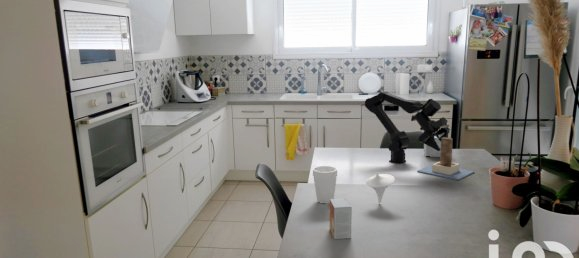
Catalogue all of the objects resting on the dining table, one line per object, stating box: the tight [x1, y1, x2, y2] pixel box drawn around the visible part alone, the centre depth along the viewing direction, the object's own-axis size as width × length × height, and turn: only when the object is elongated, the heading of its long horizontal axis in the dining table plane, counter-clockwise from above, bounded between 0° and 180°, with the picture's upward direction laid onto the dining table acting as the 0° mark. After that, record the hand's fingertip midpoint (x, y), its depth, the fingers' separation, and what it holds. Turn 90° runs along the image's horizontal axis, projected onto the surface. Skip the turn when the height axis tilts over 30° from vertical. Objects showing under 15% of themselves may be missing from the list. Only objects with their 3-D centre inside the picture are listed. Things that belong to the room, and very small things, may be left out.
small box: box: [329, 197, 353, 240], centre depth 135 cm, size 8×6×10 cm
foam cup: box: [312, 165, 338, 203], centre depth 164 cm, size 10×9×13 cm
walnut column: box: [439, 137, 454, 167], centre depth 198 cm, size 5×5×13 cm
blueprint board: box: [417, 161, 475, 181], centre depth 199 cm, size 20×16×4 cm
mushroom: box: [365, 173, 396, 204], centre depth 160 cm, size 10×11×12 cm
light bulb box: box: [423, 136, 441, 158], centre depth 229 cm, size 11×7×11 cm, turn 84°
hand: (445, 148), depth 198 cm, fingers open, 9 cm apart
